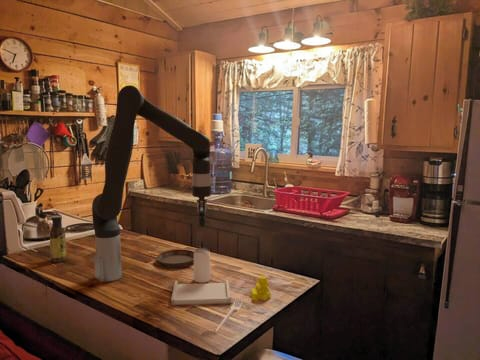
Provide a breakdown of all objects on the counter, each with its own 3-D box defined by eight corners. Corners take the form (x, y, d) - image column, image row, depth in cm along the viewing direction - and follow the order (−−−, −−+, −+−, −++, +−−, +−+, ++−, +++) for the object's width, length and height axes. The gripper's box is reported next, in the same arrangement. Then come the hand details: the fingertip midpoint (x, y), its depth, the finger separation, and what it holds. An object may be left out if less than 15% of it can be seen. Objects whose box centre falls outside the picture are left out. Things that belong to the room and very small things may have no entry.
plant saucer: (167, 272, 158) (167, 265, 157) (150, 260, 172) (150, 254, 171) (204, 263, 168) (204, 257, 168) (185, 253, 182) (185, 246, 182)
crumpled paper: (247, 298, 134) (247, 276, 133) (260, 290, 141) (261, 270, 139) (260, 303, 131) (260, 281, 130) (273, 295, 137) (274, 274, 136)
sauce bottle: (64, 262, 168) (61, 218, 165) (48, 263, 167) (46, 218, 164) (68, 257, 174) (66, 214, 171) (53, 258, 173) (51, 215, 170)
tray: (175, 285, 144) (175, 280, 144) (228, 283, 146) (228, 279, 146) (171, 305, 128) (170, 300, 128) (230, 303, 130) (230, 298, 130)
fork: (210, 332, 113) (210, 326, 113) (235, 302, 131) (235, 297, 131) (220, 334, 112) (220, 328, 111) (244, 304, 130) (244, 298, 130)
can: (203, 284, 145) (203, 254, 144) (190, 281, 149) (190, 251, 147) (213, 279, 151) (213, 249, 149) (200, 275, 154) (200, 246, 152)
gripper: (211, 186, 148) (211, 230, 151) (210, 181, 161) (211, 222, 164) (191, 187, 148) (192, 230, 150) (192, 182, 161) (193, 222, 163)
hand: (202, 226), depth 157 cm, fingers closed
